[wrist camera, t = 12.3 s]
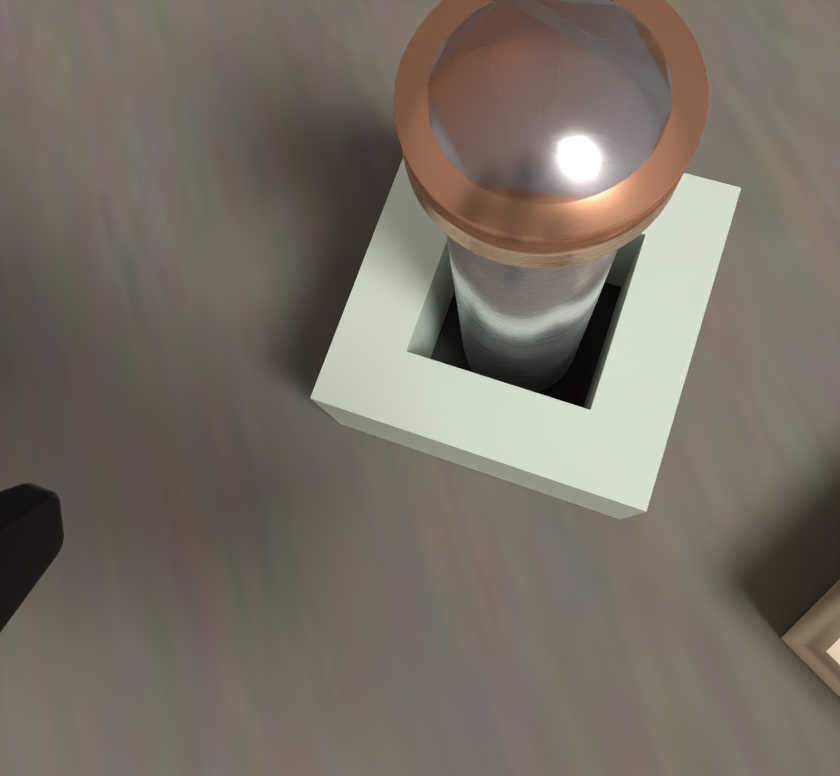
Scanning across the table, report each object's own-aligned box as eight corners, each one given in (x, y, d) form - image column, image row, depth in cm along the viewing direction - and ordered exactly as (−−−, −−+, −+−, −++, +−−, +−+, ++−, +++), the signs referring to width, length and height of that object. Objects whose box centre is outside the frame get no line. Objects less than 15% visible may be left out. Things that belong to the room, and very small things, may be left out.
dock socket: (619, 519, 22) (646, 511, 18) (340, 424, 24) (309, 398, 20) (700, 247, 24) (740, 187, 20) (434, 174, 25) (423, 105, 21)
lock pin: (505, 439, 23) (517, 299, 10) (419, 325, 24) (335, 74, 12) (623, 352, 23) (777, 112, 11) (533, 243, 24) (574, -93, 12)
